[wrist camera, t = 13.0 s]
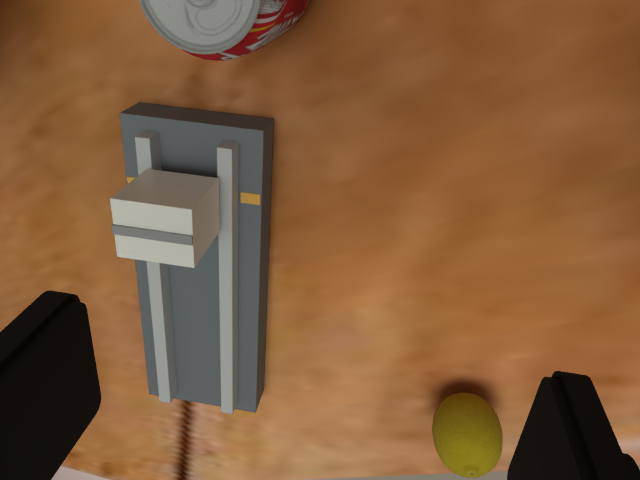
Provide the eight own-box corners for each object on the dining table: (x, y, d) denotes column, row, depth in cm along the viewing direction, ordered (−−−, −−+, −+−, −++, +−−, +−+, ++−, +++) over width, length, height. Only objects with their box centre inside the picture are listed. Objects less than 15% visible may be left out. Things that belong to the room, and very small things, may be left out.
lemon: (421, 408, 48) (423, 485, 41) (445, 365, 46) (451, 439, 39) (479, 427, 48) (490, 506, 41) (506, 385, 46) (523, 462, 39)
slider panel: (273, 118, 38) (257, 137, 34) (263, 388, 50) (251, 425, 46) (139, 102, 39) (108, 119, 35) (162, 371, 51) (142, 406, 47)
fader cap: (225, 170, 36) (190, 211, 31) (226, 222, 38) (193, 269, 33) (156, 161, 37) (108, 199, 31) (160, 212, 39) (115, 258, 33)
